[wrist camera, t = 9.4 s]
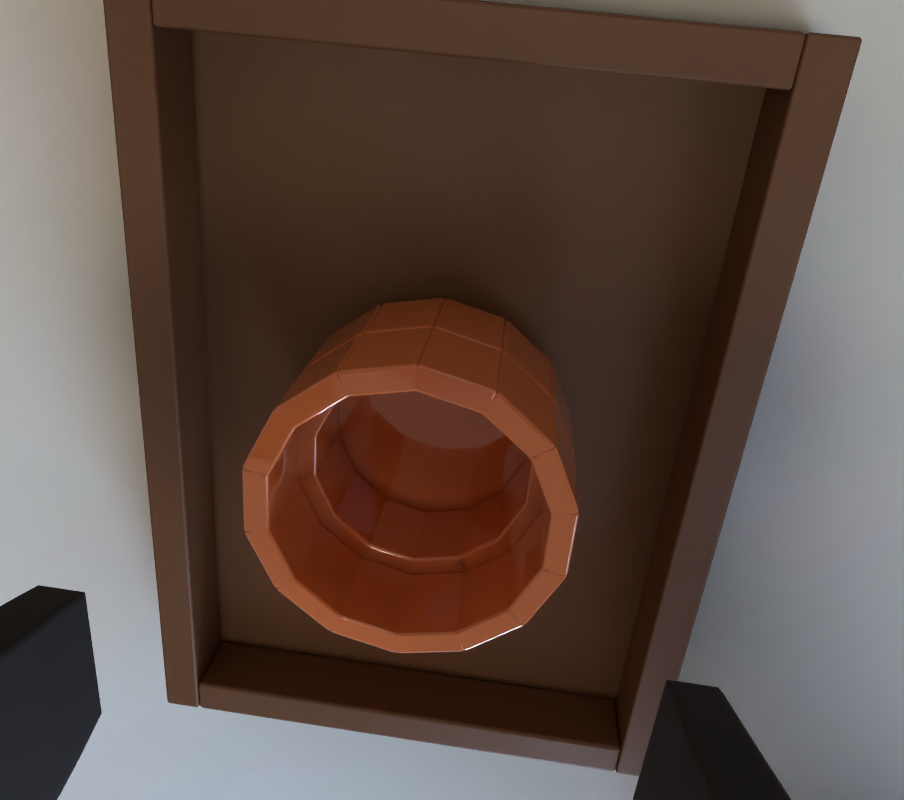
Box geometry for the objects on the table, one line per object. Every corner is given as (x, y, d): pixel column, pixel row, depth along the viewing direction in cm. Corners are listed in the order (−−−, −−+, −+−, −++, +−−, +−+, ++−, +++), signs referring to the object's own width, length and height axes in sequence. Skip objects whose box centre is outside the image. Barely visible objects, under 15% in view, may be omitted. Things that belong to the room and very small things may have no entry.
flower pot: (588, 306, 15) (604, 388, 11) (547, 544, 17) (548, 676, 13) (310, 272, 15) (236, 342, 11) (307, 512, 17) (245, 631, 14)
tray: (819, 39, 13) (863, 37, 11) (639, 711, 19) (650, 778, 18) (157, -24, 14) (97, -37, 12) (200, 645, 20) (166, 703, 18)
